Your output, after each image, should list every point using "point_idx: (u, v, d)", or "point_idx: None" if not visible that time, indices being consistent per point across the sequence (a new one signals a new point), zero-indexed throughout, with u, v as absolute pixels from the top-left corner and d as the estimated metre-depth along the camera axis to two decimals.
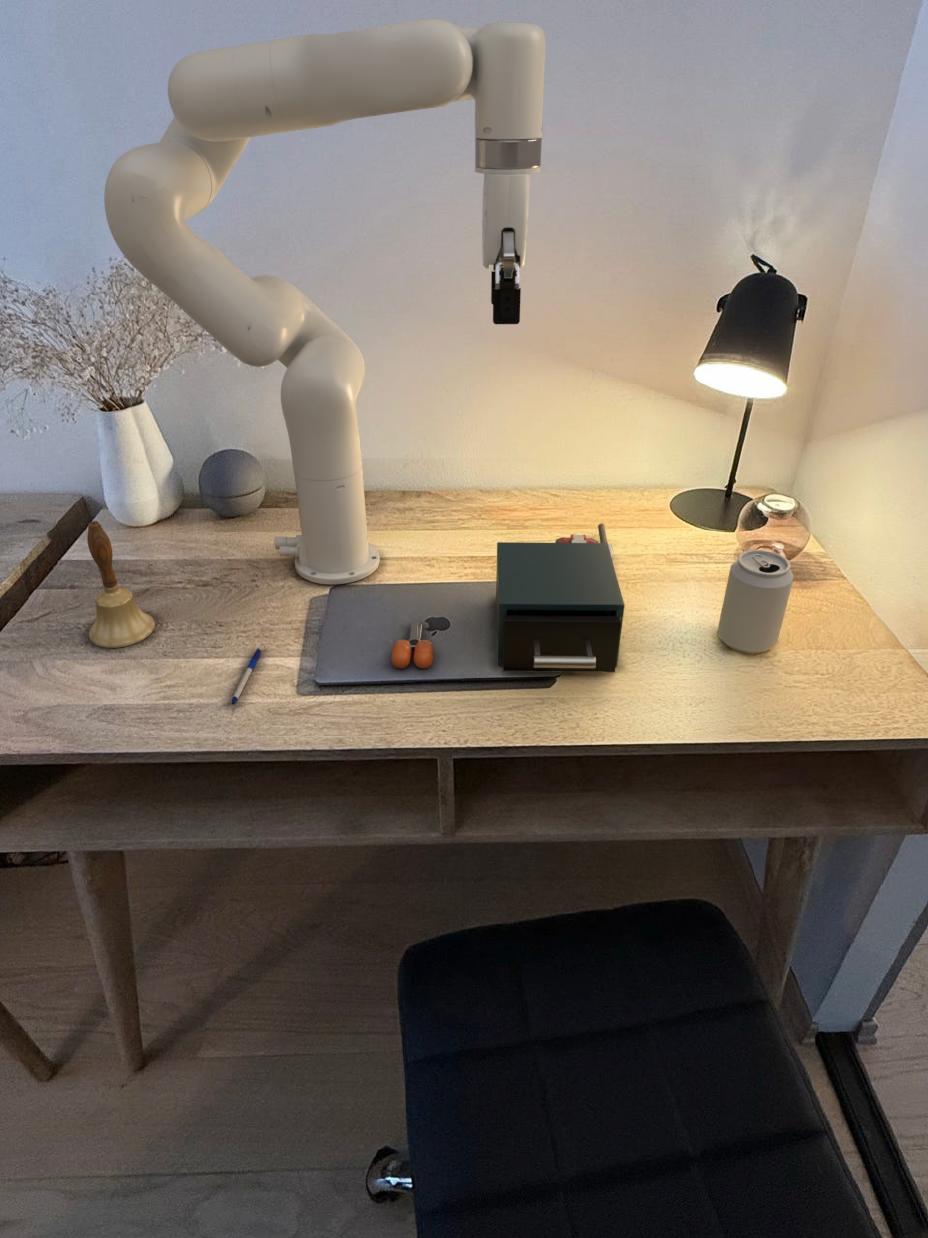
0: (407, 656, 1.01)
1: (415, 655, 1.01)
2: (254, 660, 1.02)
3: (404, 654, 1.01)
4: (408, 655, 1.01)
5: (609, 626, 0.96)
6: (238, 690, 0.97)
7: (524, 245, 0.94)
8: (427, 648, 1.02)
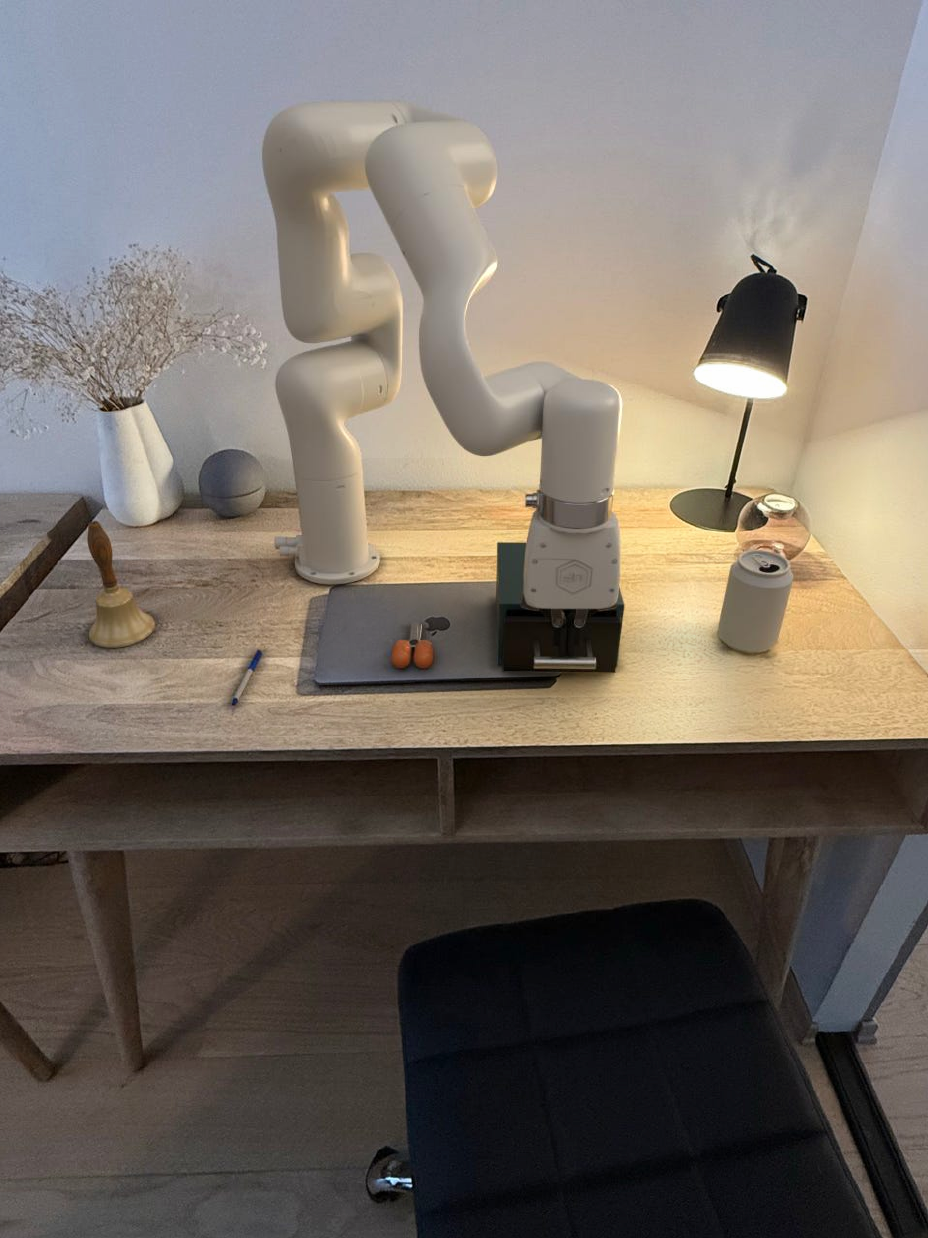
0: (407, 656, 1.01)
1: (415, 655, 1.01)
2: (255, 661, 1.03)
3: (404, 654, 1.01)
4: (408, 655, 1.01)
5: (609, 627, 0.96)
6: (238, 691, 0.98)
7: None
8: (427, 648, 1.02)
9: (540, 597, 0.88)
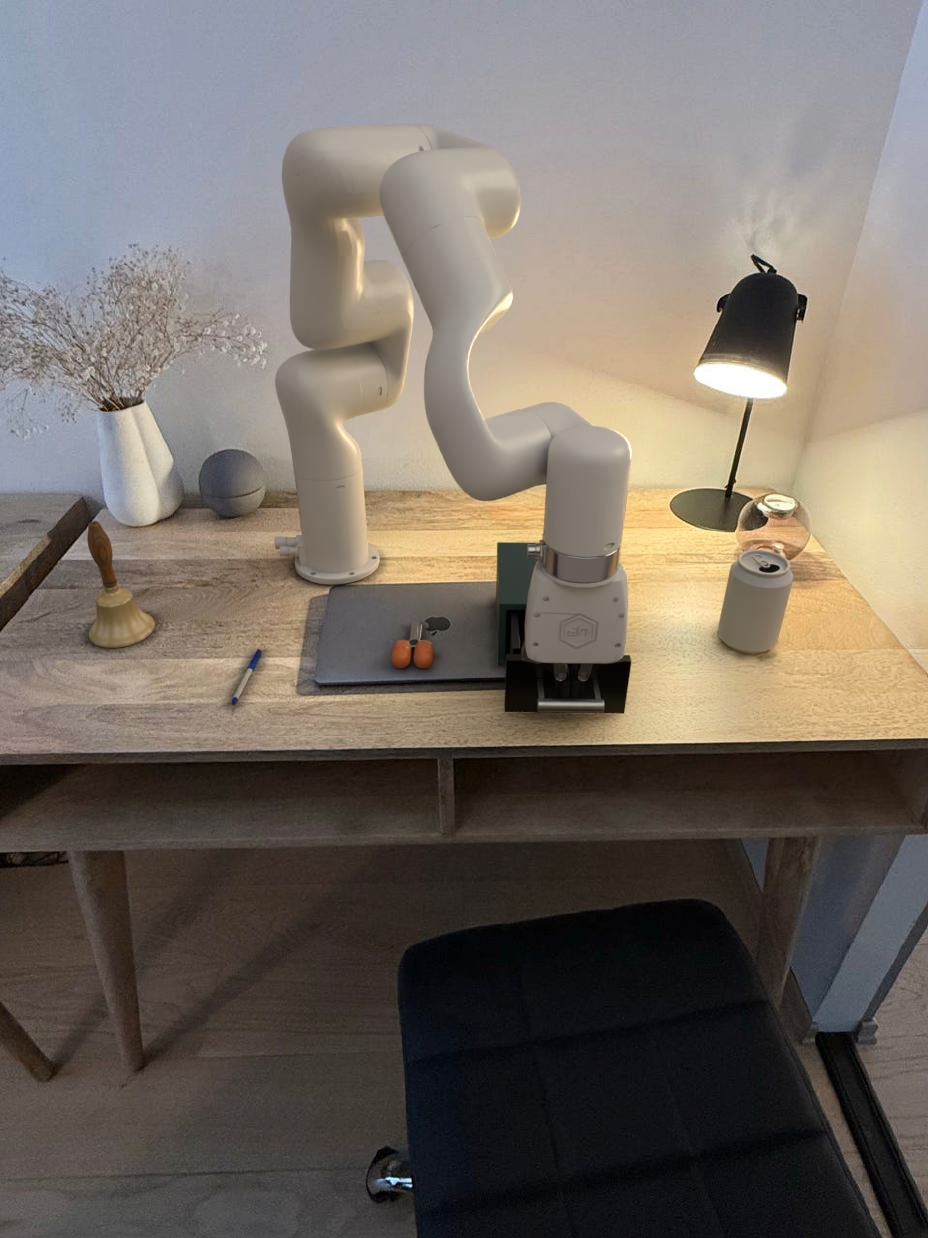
0: (407, 656, 1.01)
1: (415, 655, 1.01)
2: (254, 660, 1.02)
3: (404, 654, 1.01)
4: (408, 655, 1.01)
5: (618, 666, 0.90)
6: (238, 690, 0.98)
7: None
8: (427, 648, 1.02)
9: (542, 651, 0.83)
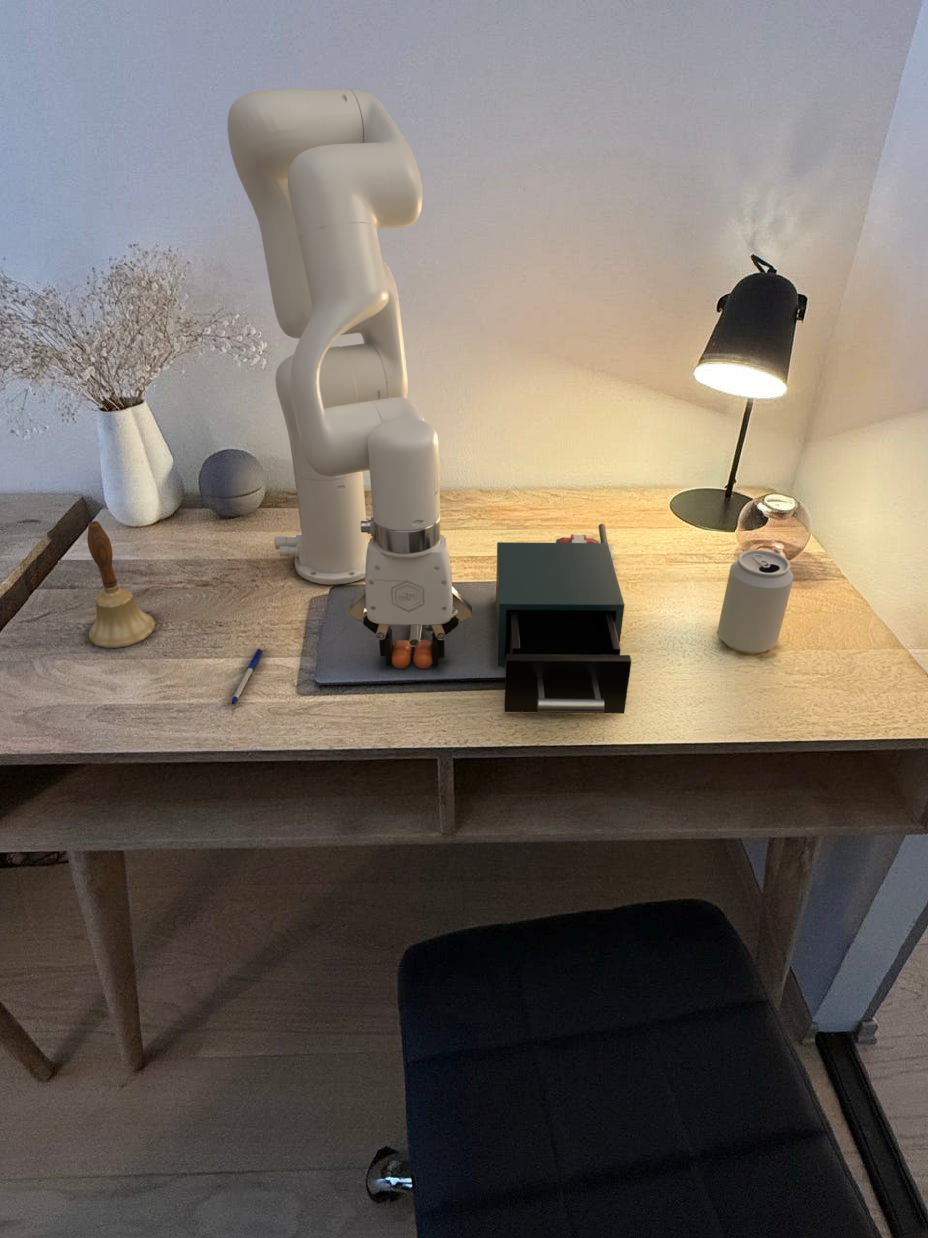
0: (407, 656, 1.01)
1: (415, 655, 1.01)
2: (255, 660, 1.02)
3: (404, 654, 1.01)
4: (408, 655, 1.01)
5: (618, 666, 0.90)
6: (238, 690, 0.97)
7: None
8: (427, 648, 1.02)
9: (379, 614, 0.96)
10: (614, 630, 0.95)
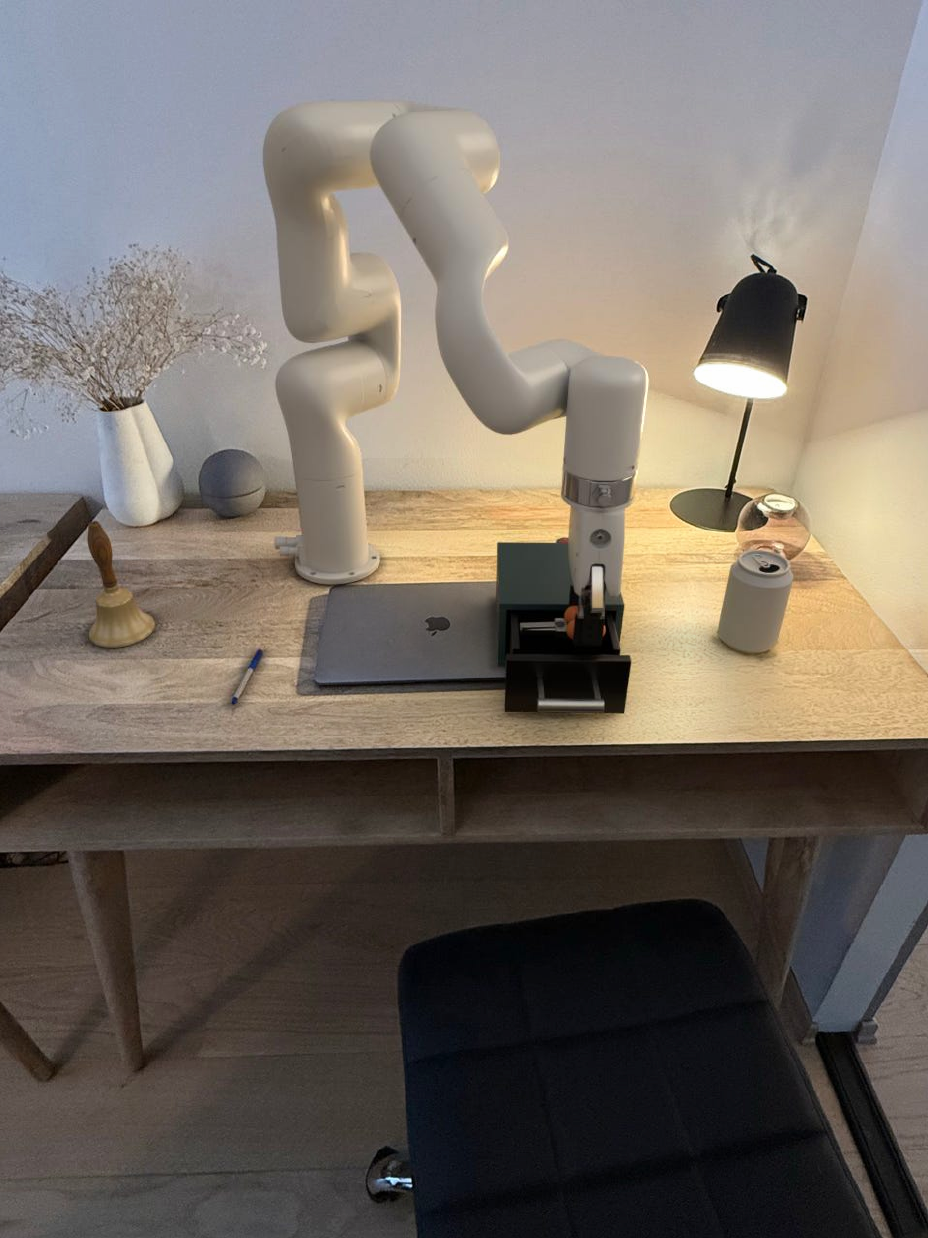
0: None
1: None
2: (255, 660, 1.02)
3: None
4: None
5: (618, 666, 0.90)
6: (238, 690, 0.98)
7: None
8: None
9: None
10: (614, 630, 0.95)
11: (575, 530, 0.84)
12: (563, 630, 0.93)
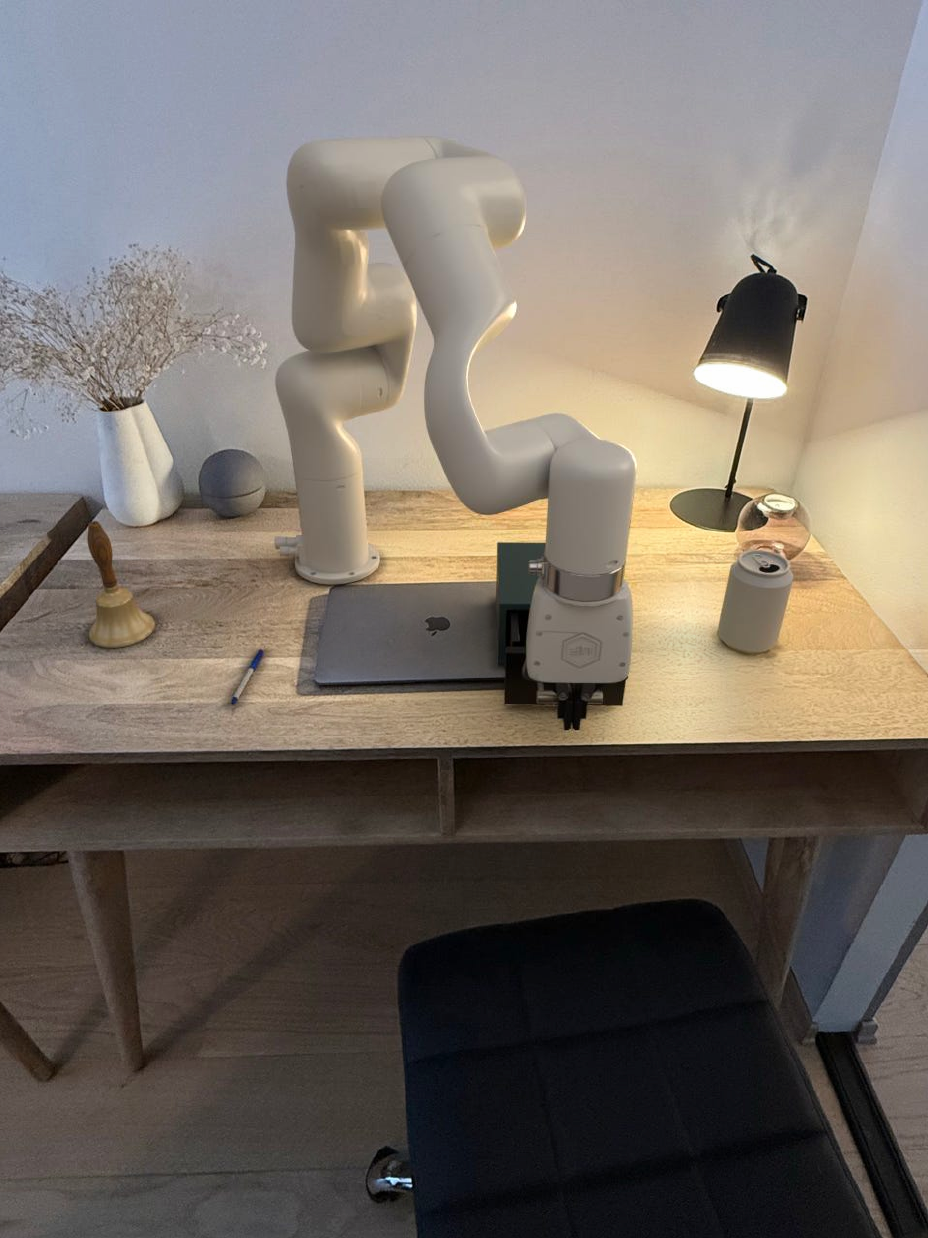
0: None
1: None
2: (256, 660, 1.02)
3: None
4: None
5: None
6: (238, 690, 0.98)
7: None
8: None
9: (544, 671, 0.81)
10: None
11: None
12: None
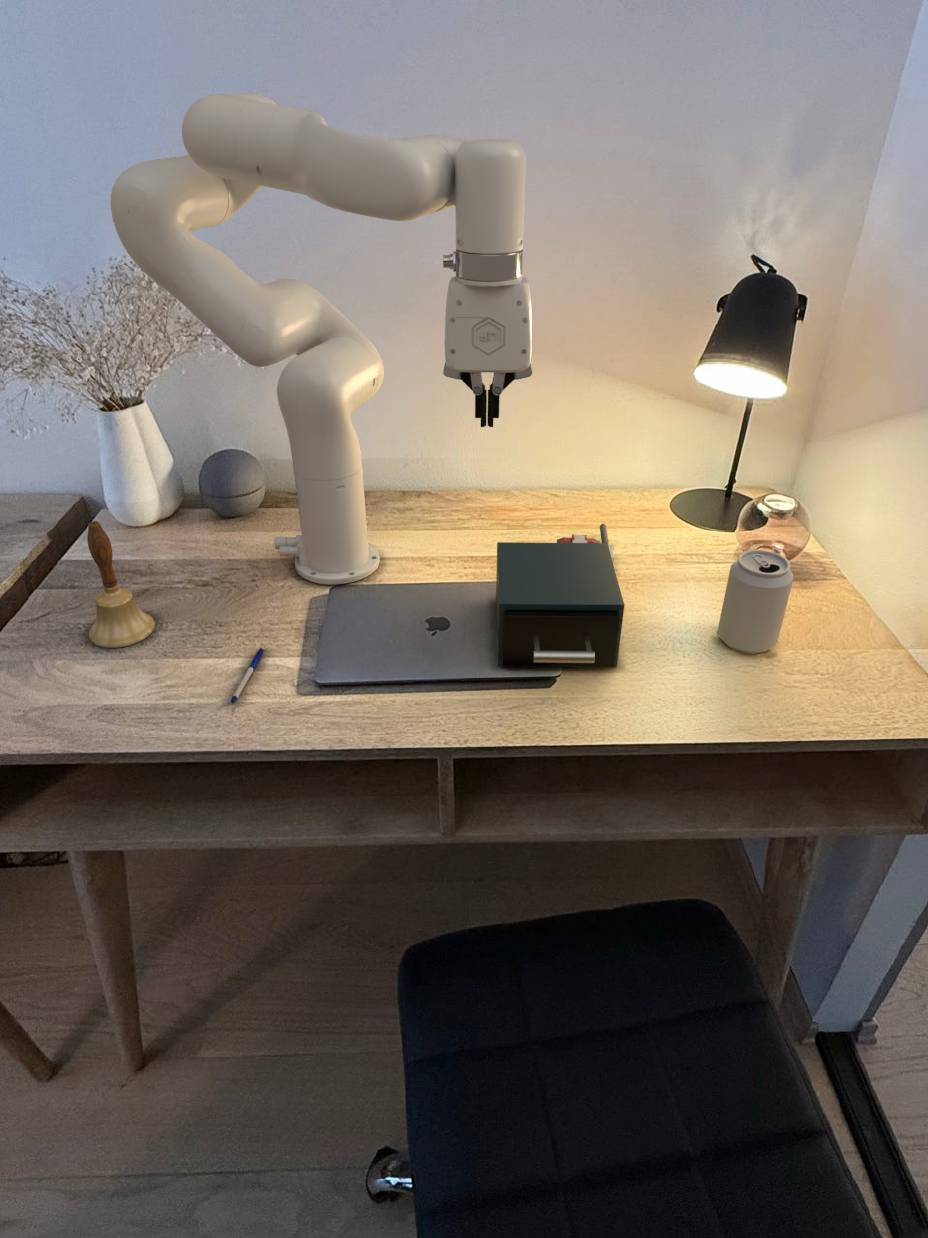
0: None
1: None
2: (256, 659, 1.02)
3: None
4: None
5: (608, 622, 0.97)
6: (238, 689, 0.97)
7: None
8: None
9: (459, 358, 0.96)
10: None
11: None
12: None
